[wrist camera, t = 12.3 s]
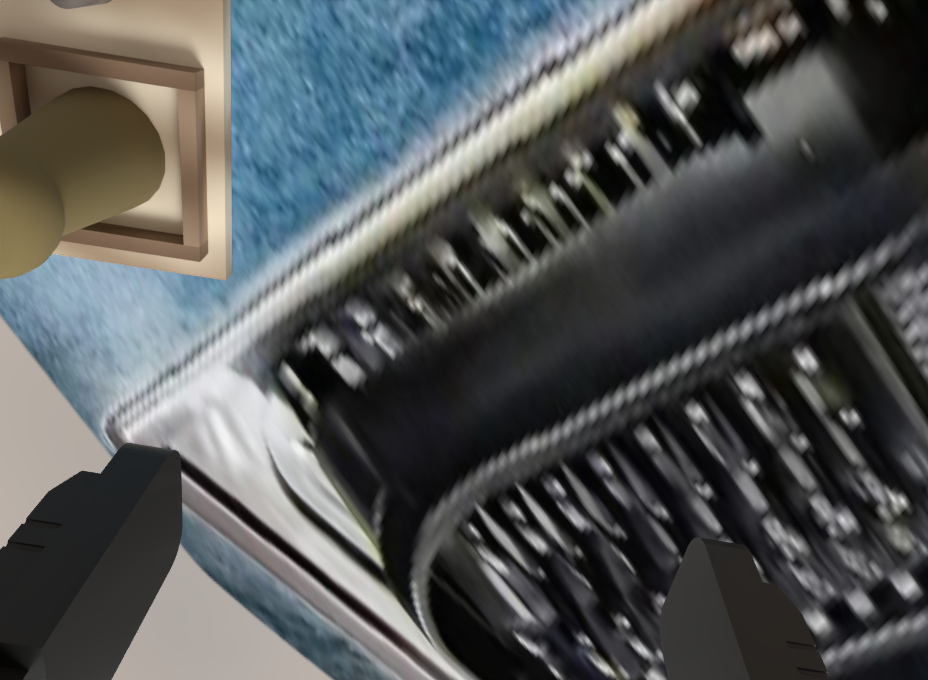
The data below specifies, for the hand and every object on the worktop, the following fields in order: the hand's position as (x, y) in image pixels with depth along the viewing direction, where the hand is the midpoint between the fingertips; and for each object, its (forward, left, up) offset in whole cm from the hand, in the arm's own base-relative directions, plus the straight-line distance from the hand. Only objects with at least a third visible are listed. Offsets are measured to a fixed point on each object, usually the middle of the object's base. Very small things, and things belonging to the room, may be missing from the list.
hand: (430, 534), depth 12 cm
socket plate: (+2, -18, -28) cm, 33 cm away
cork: (+3, -18, -27) cm, 32 cm away
